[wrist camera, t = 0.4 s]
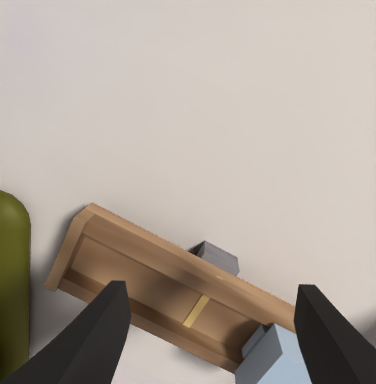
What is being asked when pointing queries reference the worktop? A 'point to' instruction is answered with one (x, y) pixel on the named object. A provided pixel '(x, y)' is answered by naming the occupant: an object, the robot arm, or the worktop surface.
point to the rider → (272, 358)
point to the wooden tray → (167, 286)
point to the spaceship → (14, 284)
